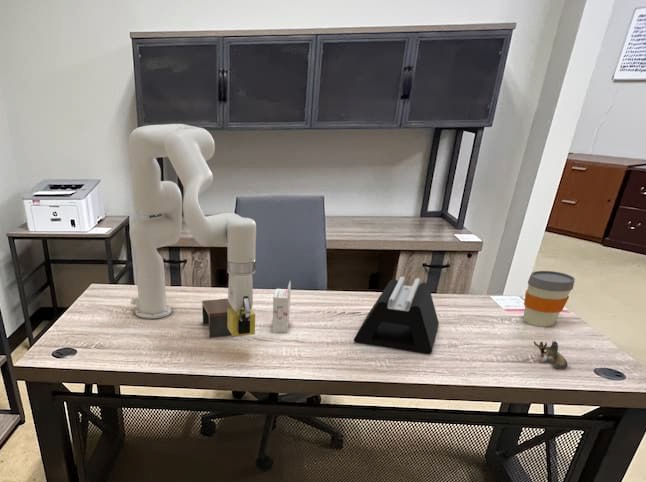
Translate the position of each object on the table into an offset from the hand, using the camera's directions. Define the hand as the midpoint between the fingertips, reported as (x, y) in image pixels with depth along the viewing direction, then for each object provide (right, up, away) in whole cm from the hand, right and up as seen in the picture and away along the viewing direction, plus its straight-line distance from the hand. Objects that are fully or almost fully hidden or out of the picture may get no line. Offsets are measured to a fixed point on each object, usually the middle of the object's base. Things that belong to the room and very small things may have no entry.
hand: (240, 327), depth 152 cm
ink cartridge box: (+14, +3, +21) cm, 26 cm away
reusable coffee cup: (+99, +5, +22) cm, 102 cm away
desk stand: (-4, +3, +21) cm, 22 cm away
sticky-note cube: (0, -1, +1) cm, 1 cm away
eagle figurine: (+87, -10, -3) cm, 87 cm away
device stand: (+50, 0, +15) cm, 52 cm away
